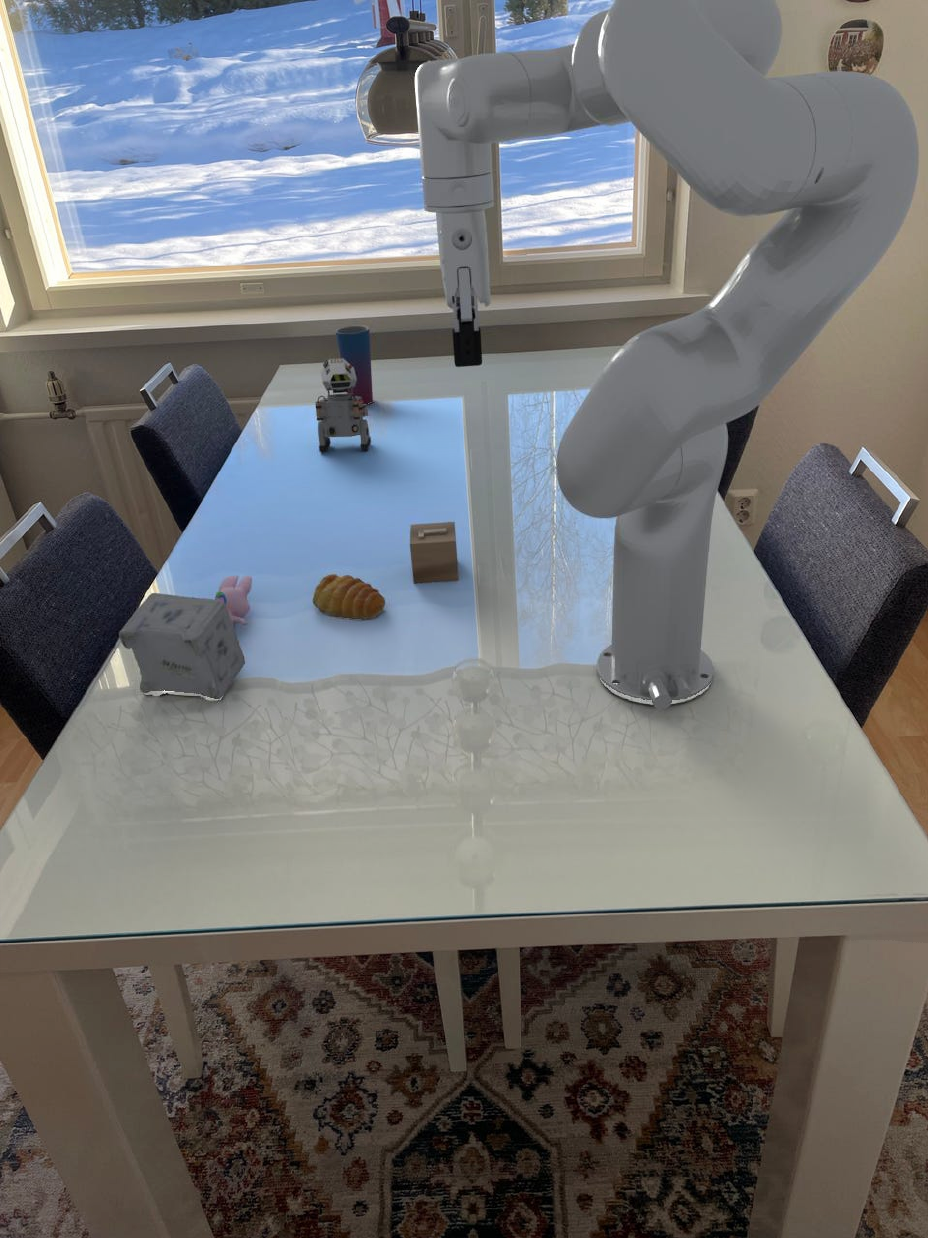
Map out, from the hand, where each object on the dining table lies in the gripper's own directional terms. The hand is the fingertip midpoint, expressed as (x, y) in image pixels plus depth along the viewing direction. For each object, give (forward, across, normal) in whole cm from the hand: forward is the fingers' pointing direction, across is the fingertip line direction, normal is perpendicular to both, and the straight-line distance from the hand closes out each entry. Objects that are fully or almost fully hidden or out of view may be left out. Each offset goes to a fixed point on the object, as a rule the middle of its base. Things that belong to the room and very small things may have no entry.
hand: (468, 363), depth 109 cm
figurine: (+29, +57, +22) cm, 68 cm away
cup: (+29, +82, +21) cm, 90 cm away
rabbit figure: (+30, -6, +32) cm, 44 cm away
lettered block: (+29, +4, +6) cm, 30 cm away
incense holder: (+29, -20, +34) cm, 49 cm away
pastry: (+30, -4, +17) cm, 34 cm away
